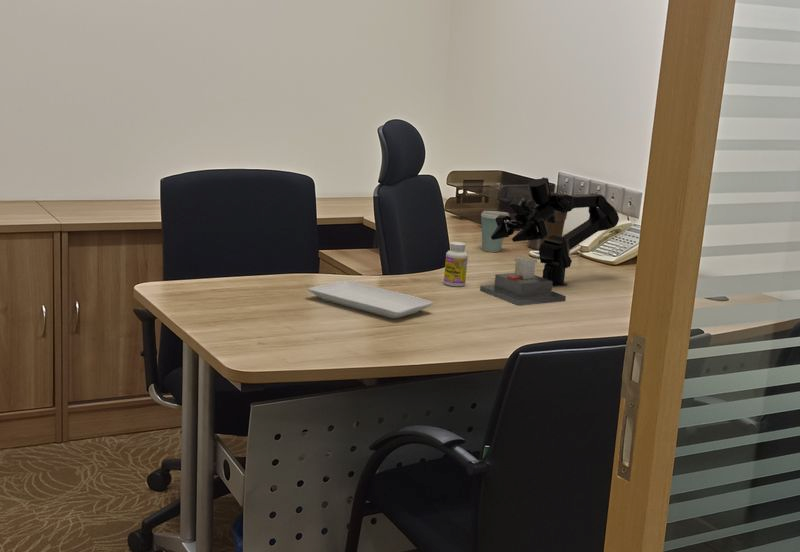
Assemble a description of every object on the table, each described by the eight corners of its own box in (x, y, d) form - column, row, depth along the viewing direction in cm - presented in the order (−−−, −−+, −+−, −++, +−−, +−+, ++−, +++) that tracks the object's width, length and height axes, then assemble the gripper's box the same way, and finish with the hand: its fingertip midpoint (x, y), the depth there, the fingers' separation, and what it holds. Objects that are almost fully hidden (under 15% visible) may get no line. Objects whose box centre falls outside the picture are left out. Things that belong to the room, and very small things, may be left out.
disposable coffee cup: (472, 248, 348) (476, 208, 344) (497, 247, 352) (500, 208, 349) (486, 253, 338) (490, 213, 335) (511, 253, 343) (515, 213, 340)
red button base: (526, 287, 288) (528, 267, 287) (565, 301, 273) (567, 280, 272) (479, 290, 279) (481, 270, 277) (517, 305, 264) (520, 284, 263)
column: (525, 292, 279) (529, 257, 277) (534, 295, 276) (538, 260, 274) (509, 293, 276) (513, 258, 274) (518, 297, 273) (522, 261, 270)
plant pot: (518, 248, 353) (523, 207, 350) (525, 242, 368) (529, 202, 365) (561, 254, 349) (566, 211, 345) (566, 247, 364) (571, 206, 360)
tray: (396, 324, 235) (397, 311, 235) (305, 299, 254) (305, 287, 253) (434, 314, 249) (435, 301, 248) (345, 290, 267) (346, 279, 266)
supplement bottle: (439, 284, 283) (443, 243, 280) (448, 280, 289) (452, 240, 286) (459, 288, 280) (463, 246, 277) (468, 284, 286) (472, 243, 283)
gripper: (508, 191, 288) (473, 213, 281) (551, 193, 273) (516, 216, 266) (518, 223, 292) (484, 246, 285) (561, 226, 277) (527, 250, 270)
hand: (502, 239), depth 276 cm, fingers open, 9 cm apart
